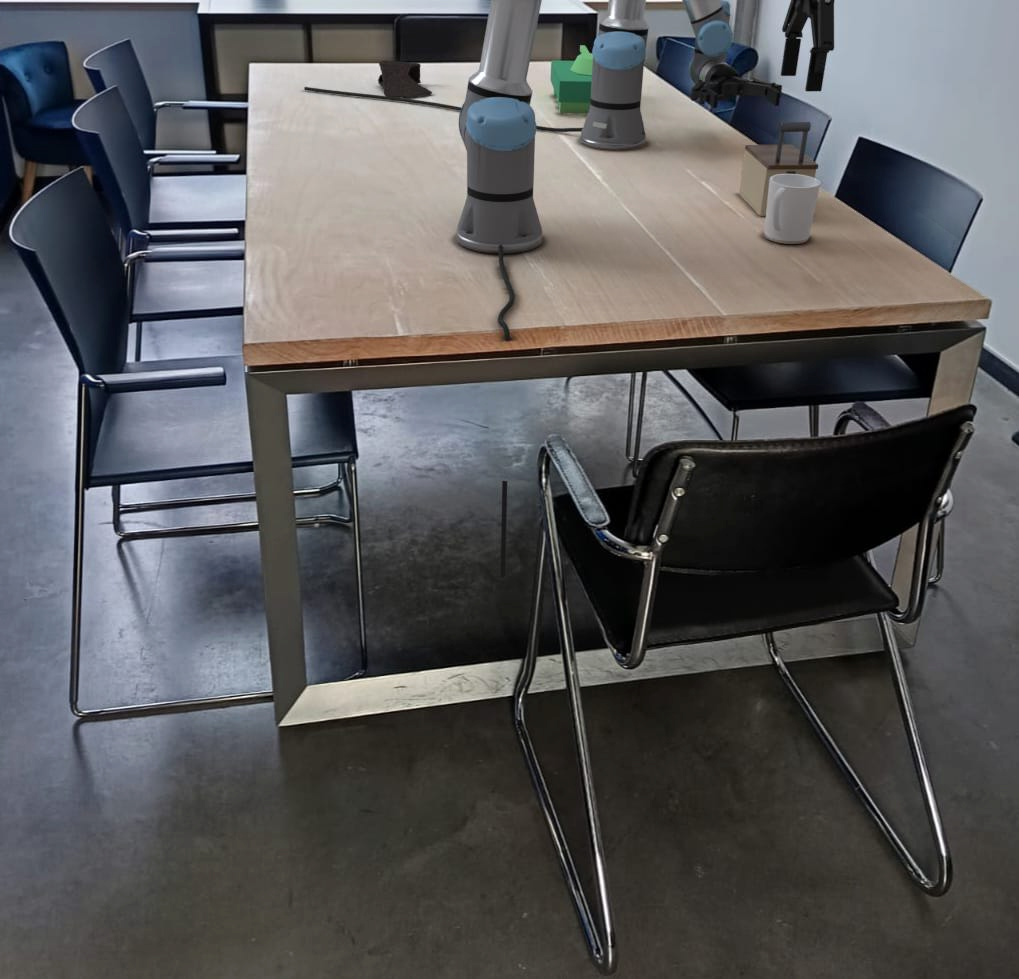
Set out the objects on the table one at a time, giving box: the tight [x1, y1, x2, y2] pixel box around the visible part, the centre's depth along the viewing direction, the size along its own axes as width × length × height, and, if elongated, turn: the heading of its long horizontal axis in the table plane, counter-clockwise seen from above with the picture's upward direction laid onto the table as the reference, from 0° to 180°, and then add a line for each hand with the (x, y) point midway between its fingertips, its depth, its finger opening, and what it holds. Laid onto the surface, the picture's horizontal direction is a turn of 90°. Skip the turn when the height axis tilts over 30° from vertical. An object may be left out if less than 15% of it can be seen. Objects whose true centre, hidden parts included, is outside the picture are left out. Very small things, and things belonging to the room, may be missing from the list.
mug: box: [763, 174, 822, 245], centre depth 197 cm, size 11×9×10 cm
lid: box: [744, 121, 819, 170], centre depth 210 cm, size 15×10×8 cm, turn 6°
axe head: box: [377, 59, 433, 99], centre depth 299 cm, size 18×8×15 cm
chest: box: [738, 148, 817, 217], centre depth 215 cm, size 14×10×9 cm
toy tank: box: [550, 44, 593, 115], centre depth 290 cm, size 18×12×35 cm
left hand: (800, 83), depth 201 cm, fingers open, 13 cm apart
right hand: (747, 100), depth 233 cm, fingers open, 13 cm apart
